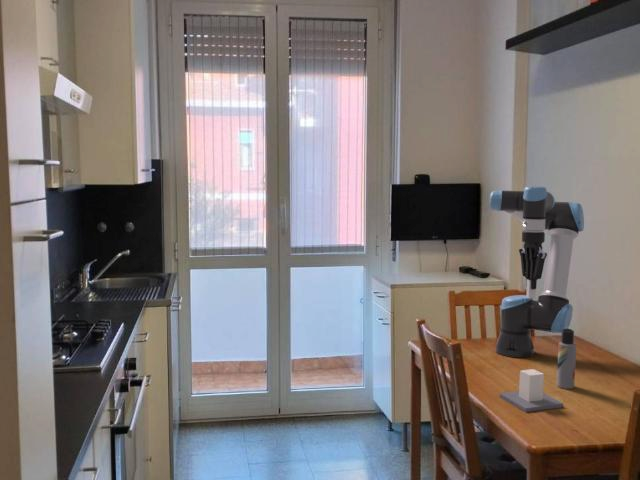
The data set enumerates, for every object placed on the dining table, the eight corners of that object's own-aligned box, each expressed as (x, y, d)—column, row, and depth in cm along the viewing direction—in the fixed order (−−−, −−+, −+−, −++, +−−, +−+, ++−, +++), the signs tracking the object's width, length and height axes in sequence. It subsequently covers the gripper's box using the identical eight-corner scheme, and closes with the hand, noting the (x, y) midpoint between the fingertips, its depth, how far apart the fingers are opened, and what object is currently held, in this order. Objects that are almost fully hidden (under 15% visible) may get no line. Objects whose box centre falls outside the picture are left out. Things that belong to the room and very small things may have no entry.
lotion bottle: (574, 384, 226) (576, 328, 224) (574, 390, 221) (577, 332, 219) (556, 383, 228) (559, 327, 226) (556, 388, 223) (559, 331, 221)
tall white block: (518, 396, 211) (519, 370, 210) (532, 394, 213) (533, 369, 212) (528, 401, 206) (529, 375, 206) (542, 400, 208) (543, 373, 207)
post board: (499, 396, 214) (500, 372, 213) (535, 392, 219) (536, 368, 218) (525, 412, 201) (526, 386, 200) (563, 407, 205) (564, 381, 204)
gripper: (513, 229, 232) (510, 294, 234) (535, 233, 219) (533, 302, 222) (531, 229, 234) (528, 293, 237) (554, 232, 222) (551, 300, 224)
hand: (530, 297), depth 229 cm, fingers closed
